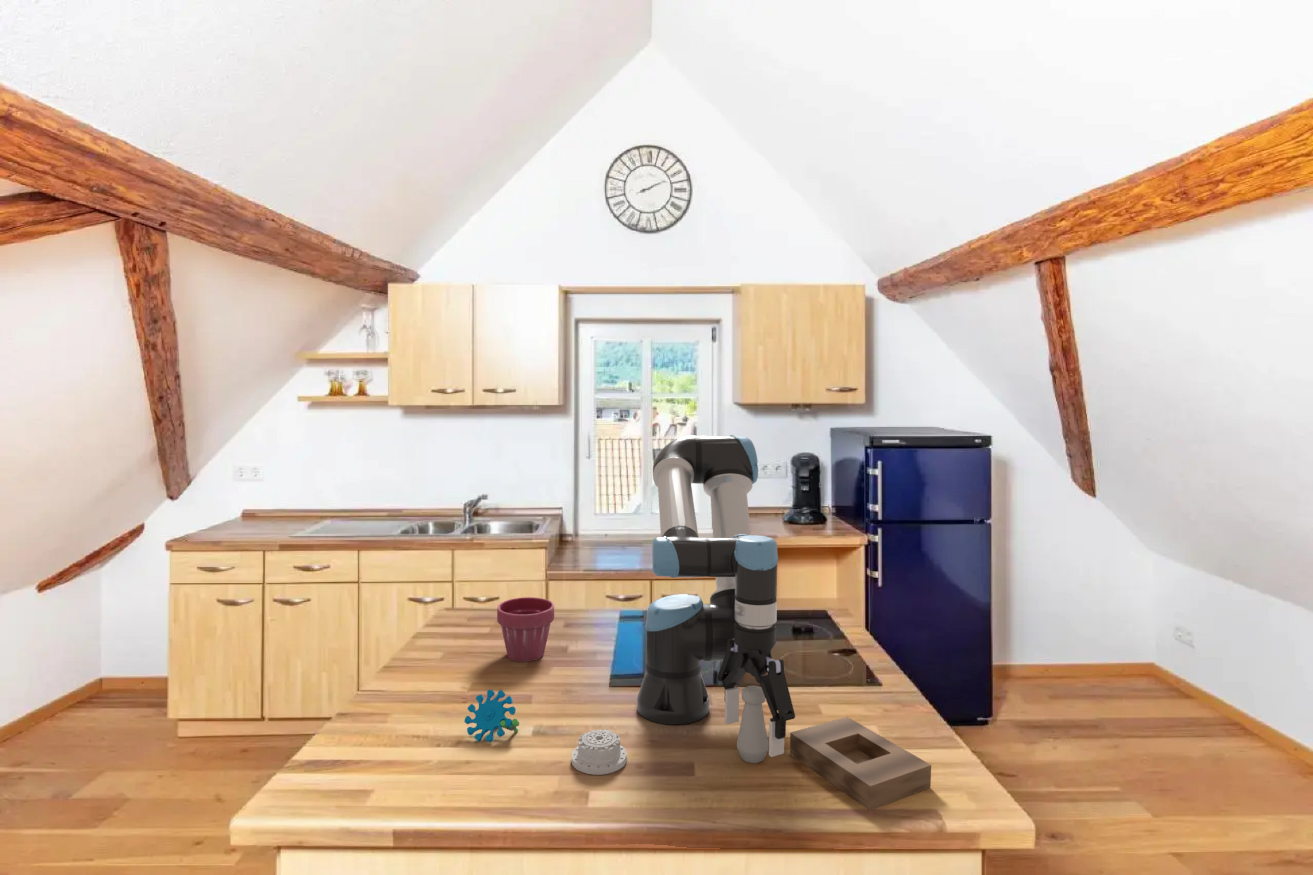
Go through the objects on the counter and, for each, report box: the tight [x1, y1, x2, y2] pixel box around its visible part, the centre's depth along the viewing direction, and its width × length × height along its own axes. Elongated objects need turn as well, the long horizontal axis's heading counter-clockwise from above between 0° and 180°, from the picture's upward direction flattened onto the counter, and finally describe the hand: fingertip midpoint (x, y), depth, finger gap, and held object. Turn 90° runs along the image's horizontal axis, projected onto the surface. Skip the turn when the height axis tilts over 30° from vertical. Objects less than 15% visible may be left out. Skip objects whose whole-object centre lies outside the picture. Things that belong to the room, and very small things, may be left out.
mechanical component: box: [570, 728, 628, 776], centre depth 128 cm, size 10×4×10 cm
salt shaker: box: [736, 685, 769, 764], centre depth 129 cm, size 6×6×13 cm
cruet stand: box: [789, 716, 932, 811], centre depth 126 cm, size 20×14×4 cm
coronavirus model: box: [464, 689, 520, 743], centre depth 138 cm, size 11×6×10 cm
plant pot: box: [496, 596, 555, 662], centre depth 178 cm, size 14×14×13 cm
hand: (753, 737), depth 129 cm, fingers open, 13 cm apart
